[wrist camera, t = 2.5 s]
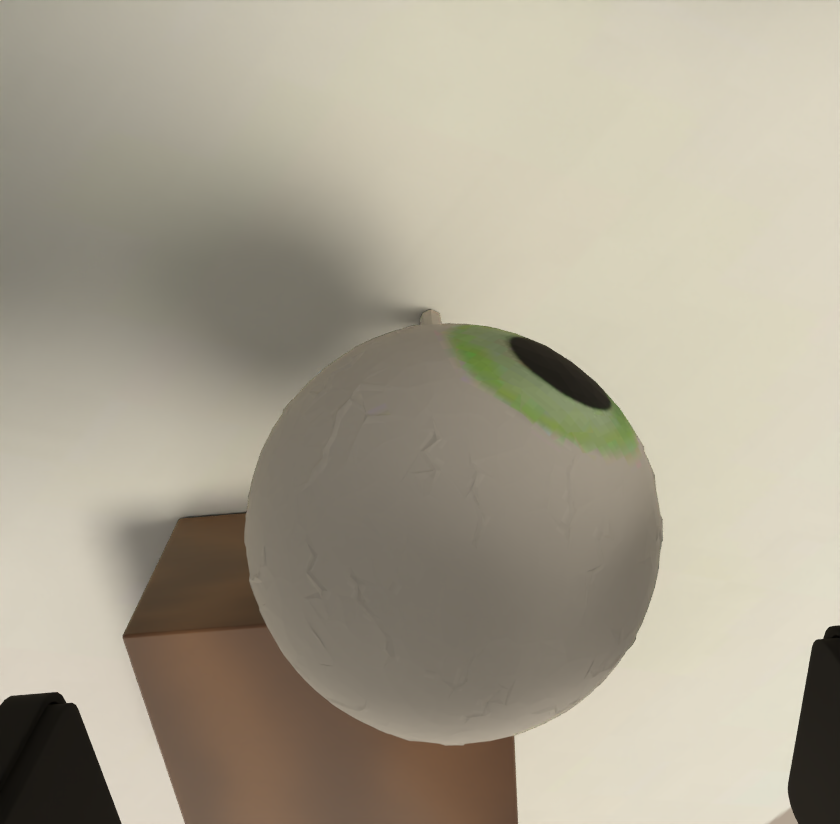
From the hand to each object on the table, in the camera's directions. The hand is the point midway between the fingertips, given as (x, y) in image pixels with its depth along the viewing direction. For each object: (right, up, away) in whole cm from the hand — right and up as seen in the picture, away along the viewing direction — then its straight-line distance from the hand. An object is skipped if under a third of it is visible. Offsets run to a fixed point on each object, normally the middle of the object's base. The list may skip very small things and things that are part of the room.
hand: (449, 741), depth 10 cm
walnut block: (-3, -4, +19) cm, 20 cm away
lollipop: (0, +7, +14) cm, 16 cm away
